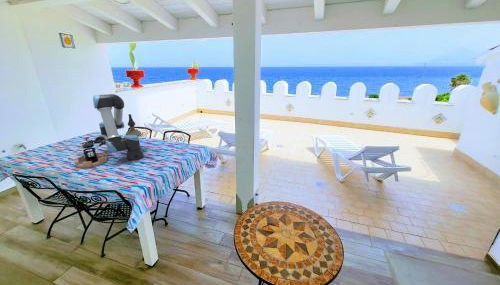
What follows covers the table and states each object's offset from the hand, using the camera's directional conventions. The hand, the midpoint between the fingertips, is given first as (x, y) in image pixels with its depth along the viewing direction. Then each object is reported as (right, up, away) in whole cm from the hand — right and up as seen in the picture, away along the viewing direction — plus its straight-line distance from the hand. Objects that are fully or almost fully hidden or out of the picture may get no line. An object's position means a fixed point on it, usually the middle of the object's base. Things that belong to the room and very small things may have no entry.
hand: (89, 146), depth 187 cm
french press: (0, -14, +3) cm, 14 cm away
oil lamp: (+26, -5, +33) cm, 42 cm away
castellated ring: (0, -15, +3) cm, 15 cm away
